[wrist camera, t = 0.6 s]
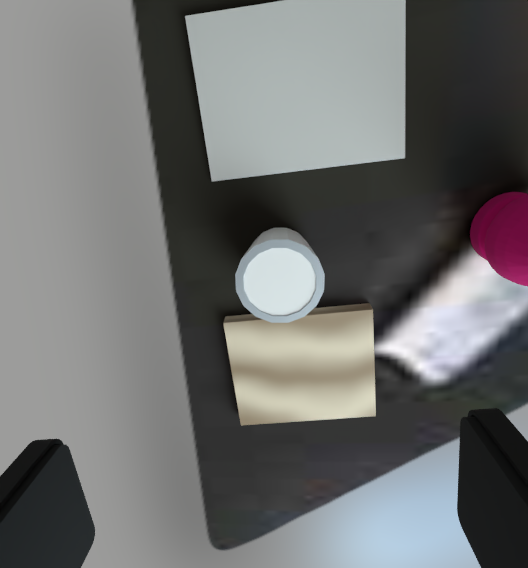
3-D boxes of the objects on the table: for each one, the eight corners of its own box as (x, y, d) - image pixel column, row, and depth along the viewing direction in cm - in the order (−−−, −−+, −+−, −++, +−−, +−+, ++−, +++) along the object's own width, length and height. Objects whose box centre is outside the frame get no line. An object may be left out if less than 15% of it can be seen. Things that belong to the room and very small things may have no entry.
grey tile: (188, 19, 30) (184, 15, 29) (401, -14, 29) (405, -19, 28) (213, 180, 34) (211, 181, 33) (401, 157, 33) (405, 158, 32)
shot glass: (237, 284, 37) (228, 315, 31) (249, 213, 35) (242, 231, 28) (308, 297, 37) (314, 331, 31) (324, 227, 35) (334, 248, 29)
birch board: (225, 316, 39) (223, 323, 37) (369, 303, 37) (372, 309, 36) (242, 415, 43) (241, 425, 41) (372, 406, 41) (375, 416, 40)
